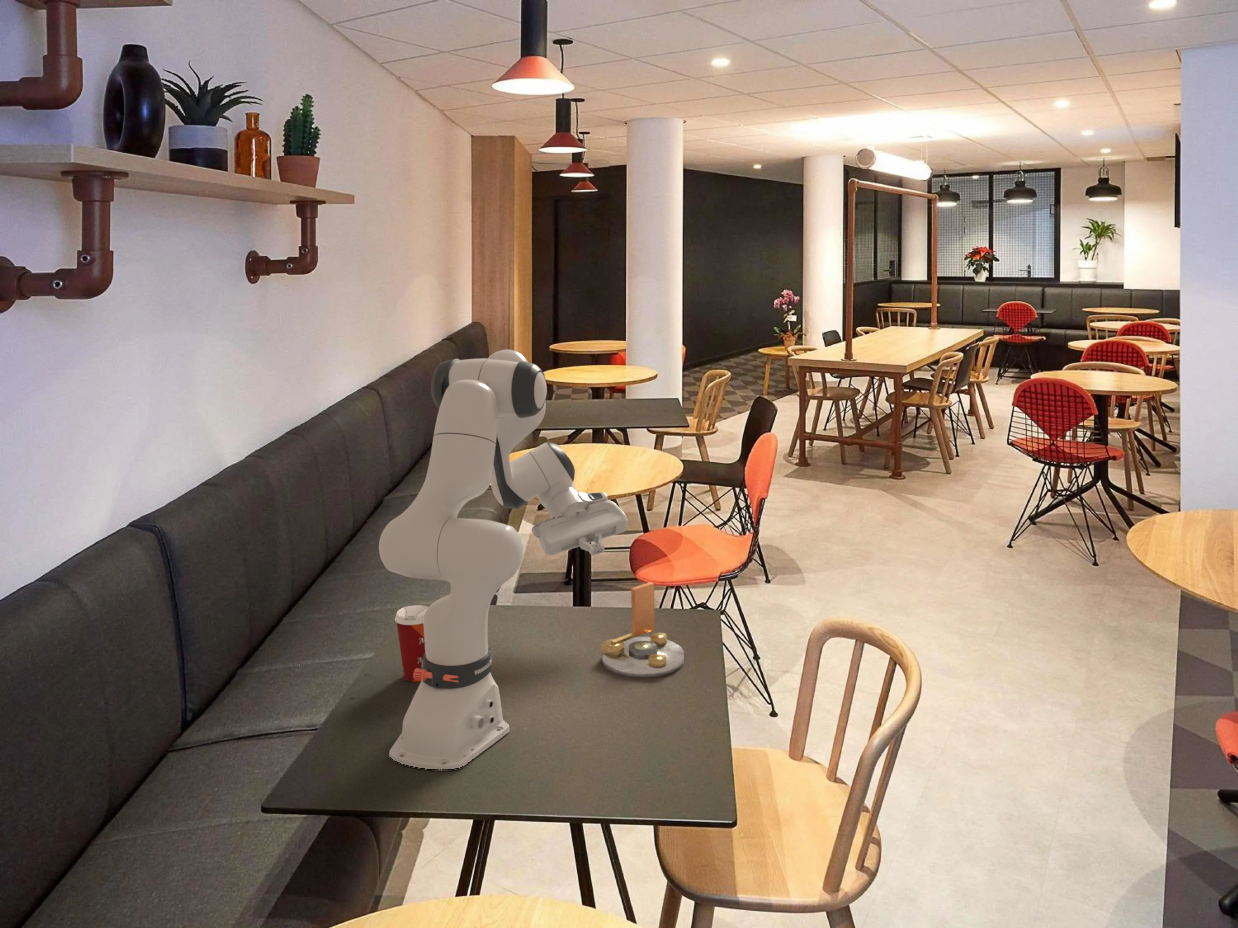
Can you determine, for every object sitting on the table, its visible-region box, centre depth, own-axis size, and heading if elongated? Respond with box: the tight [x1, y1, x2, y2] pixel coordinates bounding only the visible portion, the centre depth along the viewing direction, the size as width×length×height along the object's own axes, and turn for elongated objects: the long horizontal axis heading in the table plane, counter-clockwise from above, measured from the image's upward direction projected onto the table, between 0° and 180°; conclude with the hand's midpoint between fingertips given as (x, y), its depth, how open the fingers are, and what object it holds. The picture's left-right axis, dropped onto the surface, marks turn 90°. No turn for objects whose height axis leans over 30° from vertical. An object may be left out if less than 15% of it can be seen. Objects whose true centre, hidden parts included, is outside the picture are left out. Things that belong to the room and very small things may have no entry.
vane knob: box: [600, 581, 656, 656], centre depth 201 cm, size 14×5×12 cm, turn 131°
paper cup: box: [394, 604, 429, 683], centre depth 192 cm, size 8×8×14 cm
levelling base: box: [601, 632, 685, 679], centre depth 199 cm, size 17×17×3 cm
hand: (598, 551), depth 207 cm, fingers closed
